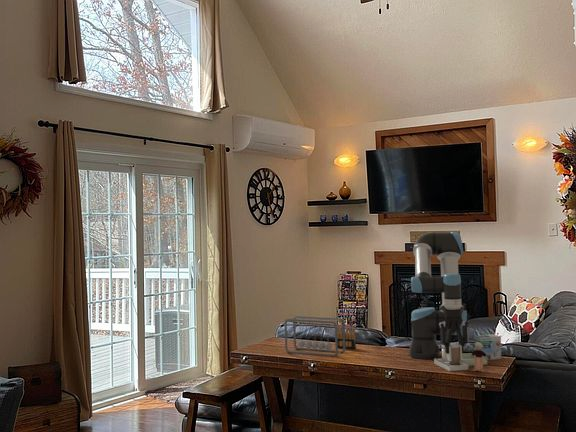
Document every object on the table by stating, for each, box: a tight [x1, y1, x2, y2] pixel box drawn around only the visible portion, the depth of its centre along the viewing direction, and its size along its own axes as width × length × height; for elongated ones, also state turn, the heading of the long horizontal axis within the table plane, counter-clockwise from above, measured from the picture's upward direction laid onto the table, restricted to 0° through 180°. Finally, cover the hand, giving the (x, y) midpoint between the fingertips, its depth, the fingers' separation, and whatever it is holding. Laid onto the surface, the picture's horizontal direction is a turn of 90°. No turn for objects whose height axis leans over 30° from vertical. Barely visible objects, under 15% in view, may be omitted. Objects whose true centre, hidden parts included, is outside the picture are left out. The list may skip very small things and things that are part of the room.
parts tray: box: [460, 352, 488, 367], centre depth 294 cm, size 12×12×3 cm
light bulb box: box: [474, 333, 502, 361], centre depth 303 cm, size 11×7×11 cm, turn 103°
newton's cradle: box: [284, 315, 346, 358], centre depth 327 cm, size 30×10×18 cm, turn 61°
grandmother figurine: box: [471, 342, 489, 372], centre depth 278 cm, size 8×4×13 cm, turn 60°
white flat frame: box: [433, 358, 469, 372], centre depth 288 cm, size 16×9×3 cm, turn 11°
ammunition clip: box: [337, 325, 357, 350], centre depth 337 cm, size 11×2×12 cm, turn 63°
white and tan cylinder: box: [449, 342, 460, 366], centre depth 284 cm, size 4×4×11 cm
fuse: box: [441, 344, 450, 362], centre depth 292 cm, size 4×4×9 cm
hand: (454, 360), depth 284 cm, fingers closed on white and tan cylinder, 4 cm apart
